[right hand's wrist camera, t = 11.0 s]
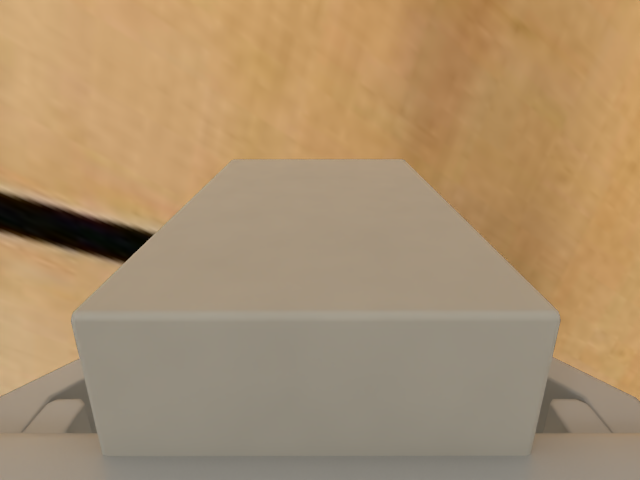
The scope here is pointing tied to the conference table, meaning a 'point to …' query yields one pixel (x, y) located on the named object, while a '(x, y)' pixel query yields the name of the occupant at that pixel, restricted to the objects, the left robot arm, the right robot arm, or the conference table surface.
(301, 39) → the conference table surface
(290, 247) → the bar
